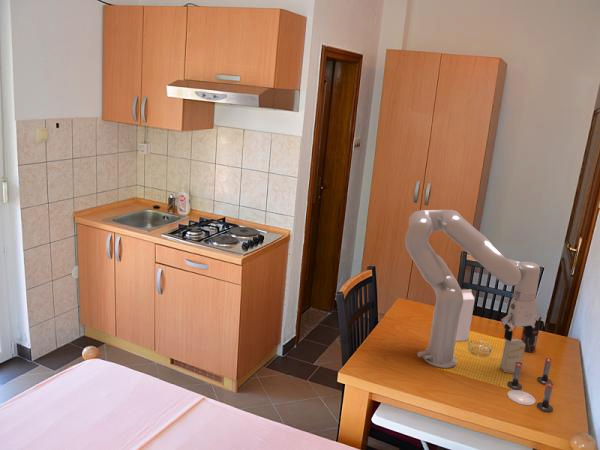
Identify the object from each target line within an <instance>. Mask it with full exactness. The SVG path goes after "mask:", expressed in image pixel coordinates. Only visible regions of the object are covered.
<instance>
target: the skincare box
mask: <svg viewBox="0 0 600 450" xmlns="http://www.w3.org/2000/svg"><path fill="white" fill-rule="evenodd" d="M524 350H525V343H524V342H523V341H522V340H521V339H516V338H512V340H511V341H508V340H507V339H505V341H504V346H503V350H502V356H501V361H500V369H501V370H502V372H503V373H508V374H509V373H510V374H514V370H515V363H516V362H520V363H522V364H523V360H524V359H523V358H524V354H525V352H524Z"/></svg>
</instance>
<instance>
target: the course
mask: <svg viewBox="0 0 600 450" xmlns="http://www.w3.org/2000/svg"><path fill="white" fill-rule="evenodd" d="M552 363H553V359H551V358H550V357H545V359H544V366H543V370H542V375H541V376H538V377H536V381H537V382H538V383H540V384H542V385H545V389H544V394H543V397H542V398H543V399H542V401H541V402H537V403H536V408H537V409H538V410H540V411H541V412H546V413H552V412H554V407H553V406H552V405H550V402H551V396H552V391H553V388H554V383H553V382H552V380H551V379H549V376H550V371H551V367H552ZM522 367H523V362H522V363H520V362H516V363H515V370H514V373H513V375H512V376H513V377H512V381H510V380H509V381H507V383H506V385H507V386H508V387H509V388H510V389H512V390H520V391H522V390H523V385H522V384H521V383H520V376H521V372H522V371H521V370H522Z"/></svg>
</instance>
